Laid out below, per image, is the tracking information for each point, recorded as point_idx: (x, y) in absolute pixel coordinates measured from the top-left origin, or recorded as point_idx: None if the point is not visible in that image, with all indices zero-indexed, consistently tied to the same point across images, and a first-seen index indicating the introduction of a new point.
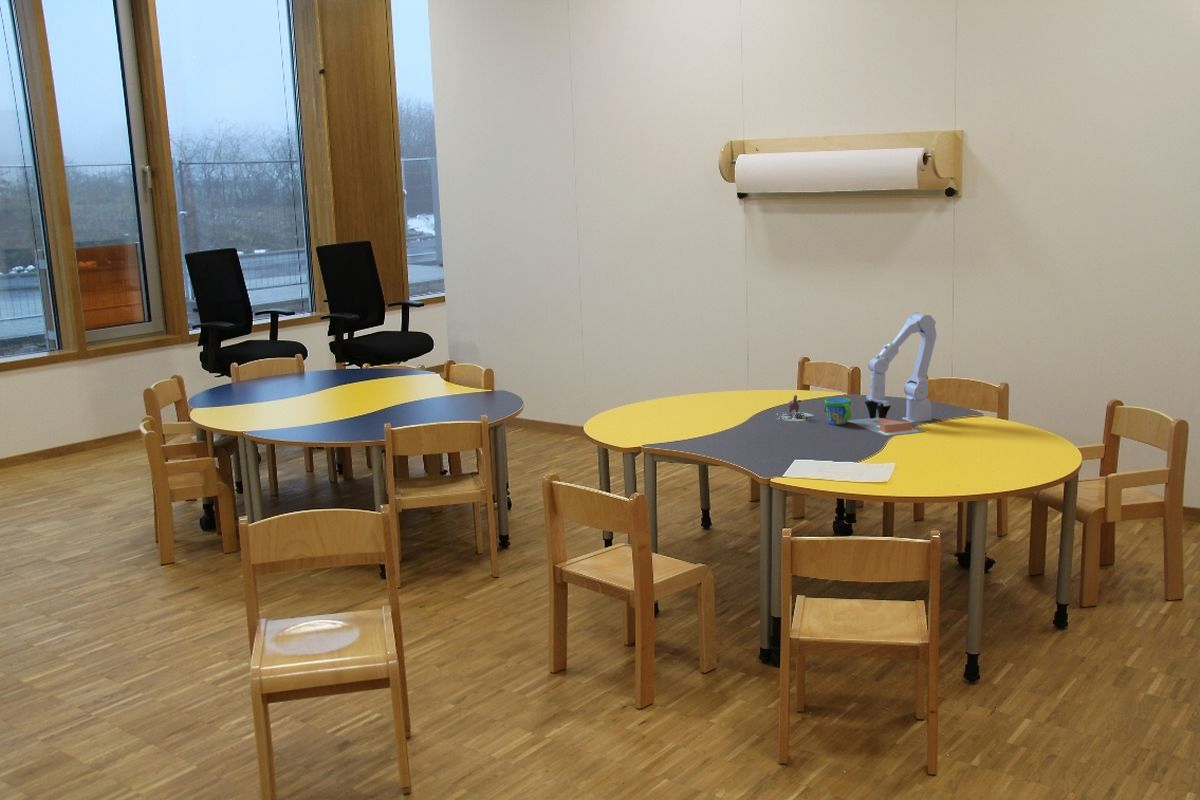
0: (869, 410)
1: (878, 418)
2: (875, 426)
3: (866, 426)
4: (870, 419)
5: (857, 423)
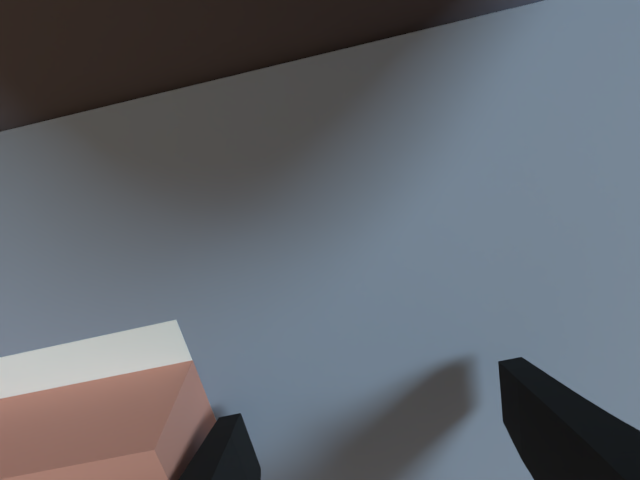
0: (602, 459)
1: None
2: (134, 308)
3: (147, 178)
4: (588, 360)
5: (403, 93)
